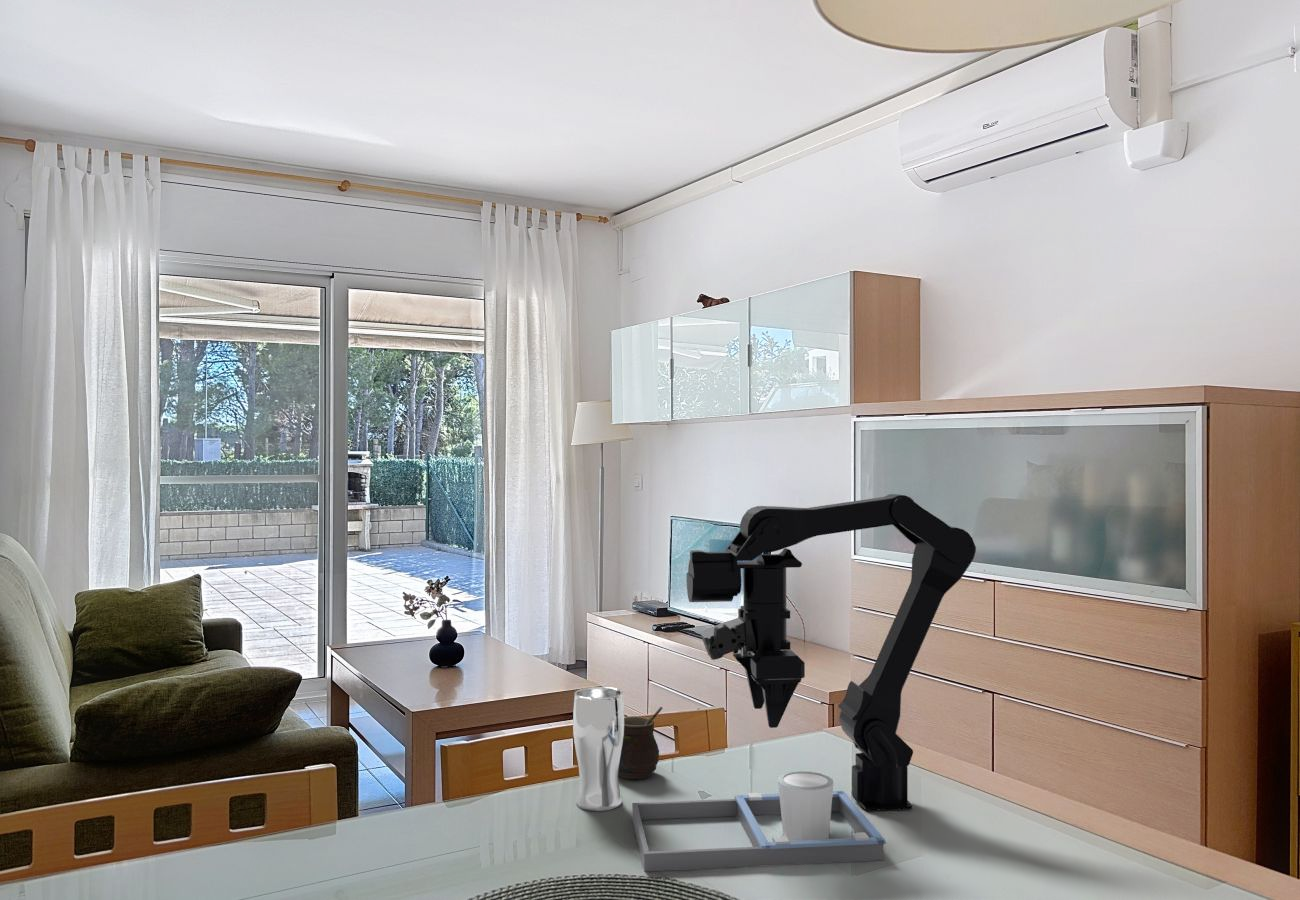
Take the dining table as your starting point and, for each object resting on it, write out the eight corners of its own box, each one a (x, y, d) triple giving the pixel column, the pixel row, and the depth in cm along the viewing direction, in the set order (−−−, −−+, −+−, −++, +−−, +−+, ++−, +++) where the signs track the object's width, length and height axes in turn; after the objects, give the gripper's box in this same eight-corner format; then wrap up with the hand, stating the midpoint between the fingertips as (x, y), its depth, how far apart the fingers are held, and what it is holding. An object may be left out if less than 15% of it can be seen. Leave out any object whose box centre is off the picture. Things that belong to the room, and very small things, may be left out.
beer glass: (627, 794, 136) (627, 686, 136) (621, 813, 129) (620, 699, 129) (578, 793, 137) (577, 685, 137) (569, 811, 130) (568, 698, 130)
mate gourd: (605, 769, 147) (606, 702, 147) (654, 765, 149) (655, 699, 149) (615, 784, 140) (616, 714, 140) (666, 781, 142) (667, 711, 142)
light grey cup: (837, 828, 124) (837, 773, 124) (829, 850, 117) (829, 791, 117) (783, 822, 126) (783, 768, 126) (772, 843, 119) (772, 785, 119)
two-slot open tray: (843, 809, 130) (843, 788, 130) (885, 860, 114) (885, 837, 114) (632, 817, 128) (632, 797, 128) (644, 872, 111) (644, 848, 111)
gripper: (694, 591, 140) (695, 701, 140) (717, 613, 121) (717, 740, 121) (771, 590, 141) (772, 699, 141) (805, 612, 122) (806, 737, 122)
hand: (765, 717), depth 131 cm, fingers open, 9 cm apart
